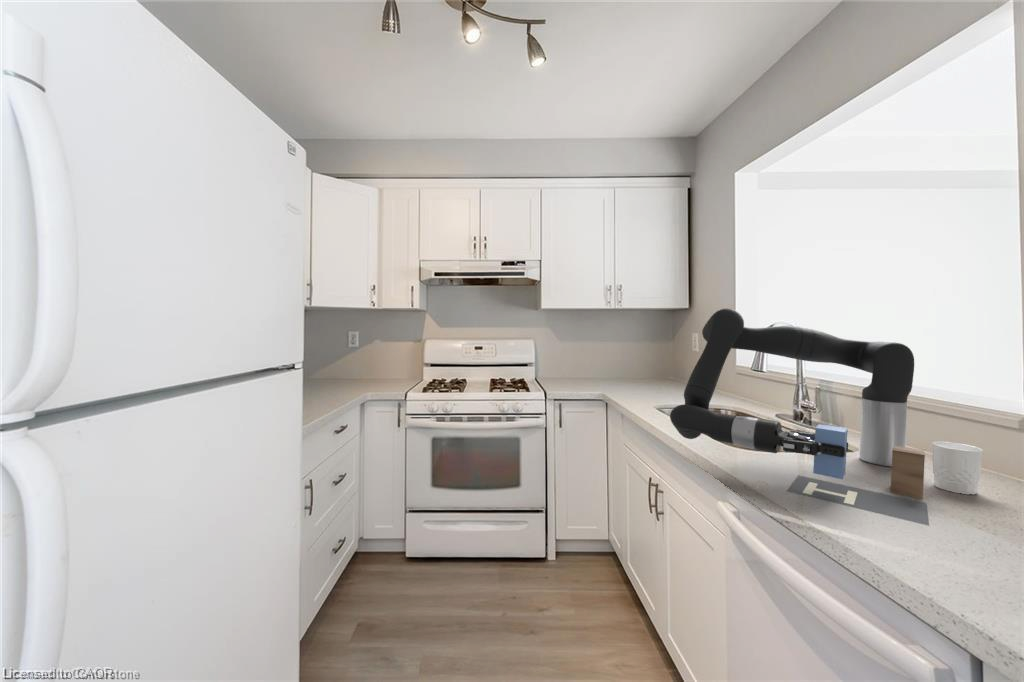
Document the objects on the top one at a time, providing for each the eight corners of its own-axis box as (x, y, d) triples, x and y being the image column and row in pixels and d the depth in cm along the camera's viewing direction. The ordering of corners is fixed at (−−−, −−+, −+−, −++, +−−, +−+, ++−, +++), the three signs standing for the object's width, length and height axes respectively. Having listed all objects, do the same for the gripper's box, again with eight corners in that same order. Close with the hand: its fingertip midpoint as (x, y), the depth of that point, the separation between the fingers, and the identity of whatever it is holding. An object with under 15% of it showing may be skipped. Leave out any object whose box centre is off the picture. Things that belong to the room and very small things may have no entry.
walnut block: (891, 488, 93) (892, 445, 93) (921, 495, 90) (924, 450, 90) (890, 494, 90) (892, 449, 90) (922, 501, 86) (924, 455, 86)
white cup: (939, 491, 92) (941, 447, 92) (924, 480, 99) (926, 439, 99) (989, 498, 88) (991, 453, 88) (969, 486, 95) (971, 444, 95)
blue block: (816, 467, 92) (819, 424, 92) (845, 473, 89) (847, 428, 89) (813, 473, 89) (815, 427, 89) (842, 479, 85) (845, 432, 85)
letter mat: (798, 477, 100) (798, 475, 100) (926, 505, 84) (926, 502, 84) (786, 493, 90) (786, 490, 90) (929, 528, 74) (929, 525, 74)
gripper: (748, 422, 93) (843, 438, 82) (764, 414, 104) (850, 426, 92) (747, 455, 94) (841, 475, 82) (763, 443, 104) (849, 459, 92)
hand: (845, 449), depth 87 cm, fingers closed on blue block, 5 cm apart
